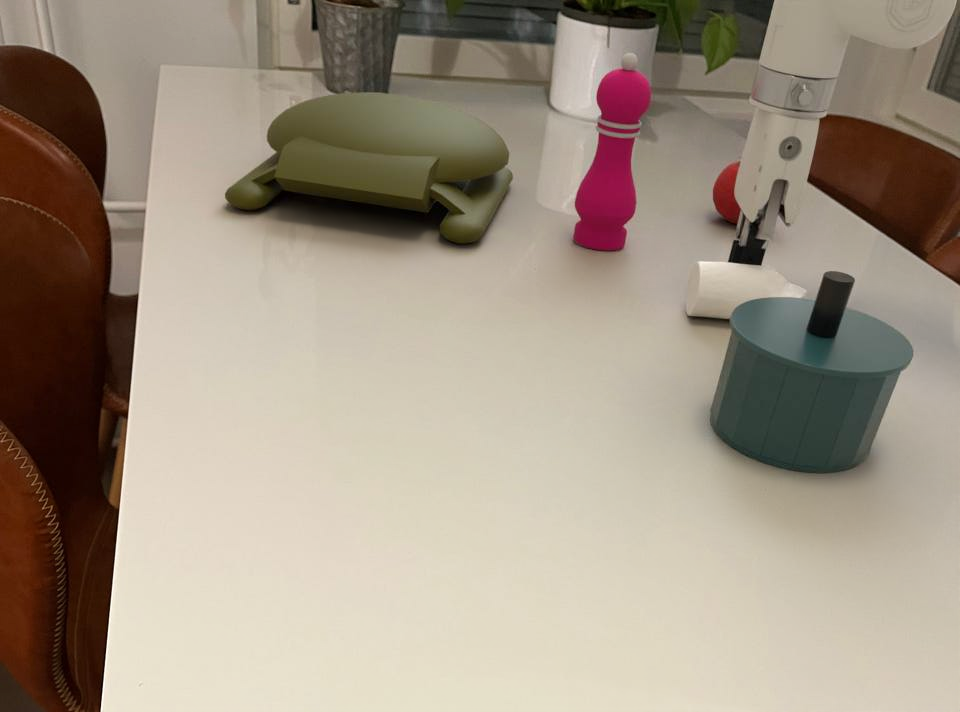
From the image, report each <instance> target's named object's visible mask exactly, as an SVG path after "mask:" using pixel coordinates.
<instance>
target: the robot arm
mask: <svg viewBox="0 0 960 712" xmlns="http://www.w3.org/2000/svg"><path fill="white" fill-rule="evenodd" d="M957 2H958V0H774V1H773V5H772V9H771V13H770V17H769V21H768V25H767V27H766V33H765V36H764V39H763V44H762V48H761V52H760V55H759V61H758V64H757V68H756V72H755V75H754V79H753V84H752V86H751V87H752V88H751V92H750V96H749V99H748V103H749V105H751V106H752V107H755V110H754V114H753V117H752V118H751V123H750V126H749V130H748V133H747V137H746V139H745V144H744V148H743V151H742V154H741V158H740V161H741V162H740V165H739V169H738V174H737V178H736V183H735V189H734V195H735V198H736V201H737V203H738V204H739V206H740V208H741V211H740V215H739V220H738V224H736V229H735V233H734V239H733V241H732V245H731V248H730V252H729V257H728V259H727V262H729V263H737V264H748V265H760V266H763V261H764V257H765V254H766V251H767V248H768V246H769V243H770V242H771V241H772V240H773V237H774V233H775V229H776V225H777V220H778V216H779V218H780V220H781V221H782V222H783V224H784V225H785V226H786V227H789V228H790V227H792V226H794V225H795V224H796V223H797V220H798V216H799V214H800V209H801V205H802V201H803V198H804V194H805V190H806V187H807V182H808V178H809V174H810V171H811V166H812V161H813V157H814V153H815V150H816V149H815V148H816V144H817V138H818V133H819V126H820V119H822V118H826V116H827V114H828V111H829V108H830V104H831V101H832V97H833V95H834V91H835V88H836V84H837V81H838V77H839V74H840V72H841V68H842V64H843V61H844V57H845V54H846V50H847V48H848V45H849V40H850V37H851V36H852V37H855V38H859V39H861V40H865V41H867V42H870V43H873V44H877V45H879V46H882V47H886V48H888V49H895V50H908V49H913V48H917V47H920V46H922V45H924V44H926V43H928V42H929V41H931V40H932V39H934V38H935V37H936V36H938V35H939V34H940V33H941V32H942V31H943V29H944V28H946V26H947V24H948V23H949V21H950V20H951V18H952V16H953V14H954V12H955V9H956V6H957Z"/></svg>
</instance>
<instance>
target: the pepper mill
mask: <svg viewBox="0 0 960 712" xmlns="http://www.w3.org/2000/svg"><path fill="white" fill-rule="evenodd" d="M638 64H639V60H638V57H637V55H636V54H635V53H633V52H627V53H625V54H624V55H623V57H622V58H621V63H620V65H621V68H616V69H613V70H610V71H609V72H607V73H605V75H604V76H603V78H601V80H600V82H599V84H598V87H597V90H596V95H595V97H596V98H595V99H596V104H597V107H598V109H599V111H600V113H601V114H600V115H598V116H597V118H596V120H597V123H596V127H595V131H597V132H598V139H597V146H596V151H595V154H594V157H593V160H592V163H591V164H590V166H589V168H588V170H587V172H586V173H585V175H584V177H583V179H582V181H581V182H580V183H579V186H578V189H577V192H576V194H575V198H574V209H575V211H576V214H577V216H578V217H579V218H580V219H579V220H578V221H576V222H575V225H574V232H573V240H574V242H575V243H577V244H578V245H579V246H581V247H584V248H587V249H590V250H594V251H603V252H604V251H605V252H606V251H607V252H612V251H618V250H619V251H620V250H621V249H622V248H624V247H625V245H626V240H627V235H628V230H627V228H626V227H625V226H626V224H628V222H630V221H631V219H633V217H634V215H635V213H636V208H637V191H636V186H635V181H634V177H633V171H632V157H633V150H634V144H635V142H636V138H638V137H639V136H640V135H641V131H640V130H641V127H642V121H641V120H640V119H641V117H642V116H643V115H644V114H645V113H646V112H647V111H648V109H649V107H650V104H651V100H652V87H651V85H650V82H649V80H648V78H647V76H645V75H644V74H643V73H642V72H640V71H638V70H636V69H637V67H638Z"/></svg>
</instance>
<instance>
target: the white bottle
mask: <svg viewBox="0 0 960 712" xmlns="http://www.w3.org/2000/svg"><path fill="white" fill-rule="evenodd" d="M806 294H808V291H807V290H806V289H805V288H803V287H801V286H799V285H796V284H794V283H791V282H788V281H787V279H786V278H785V277H783V276H782V275H781V274H780V273H779V272H777V270H775V269H774V267H772V266H767V265H761V266H760V265H748V264H737V263H729V262H728V261H706V260H705V261H703V260H702V261H701V260H700V261H699V260H698V261H695V262H694V263H693V265H692V267H691V269H690V271H689V275H688V279H687V284H686V294H685V312H686V315H687V316H689V317H702V318H711V319H712V318H713V319H723V320H730V317H731V314H732V312H733V310H734V309H735V308H736V307H737V306H739V305H740V304H742V303H745V302H747V301H750V300H754V299H760V298H769V297H792V298H804V297H806Z"/></svg>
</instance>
